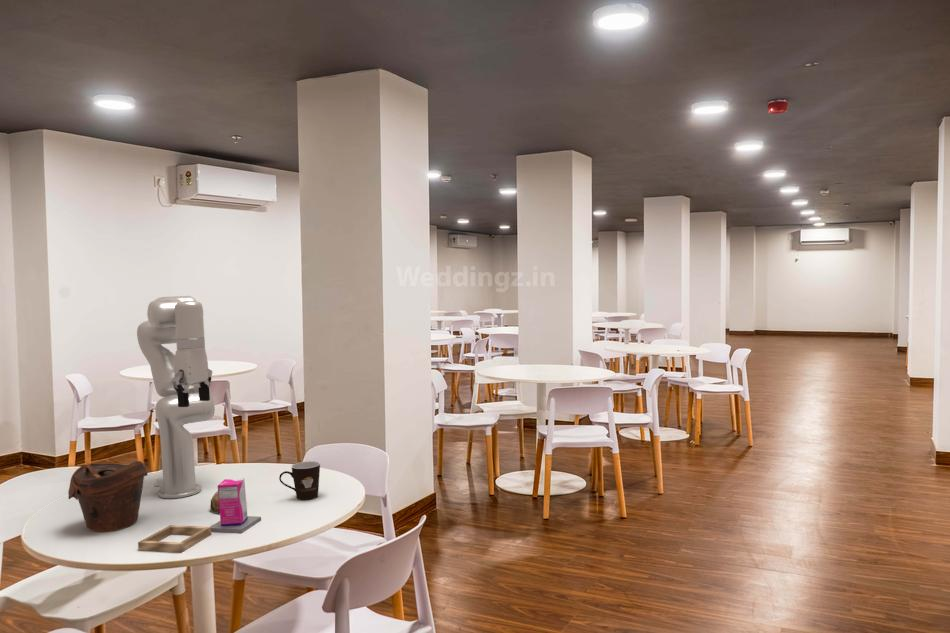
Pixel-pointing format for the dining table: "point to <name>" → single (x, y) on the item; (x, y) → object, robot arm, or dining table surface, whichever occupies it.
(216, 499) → the bread roll
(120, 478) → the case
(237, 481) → the supplement box
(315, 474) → the coffee mug
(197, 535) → the oak pocket frame
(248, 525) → the stone pad
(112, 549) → the dining table surface
